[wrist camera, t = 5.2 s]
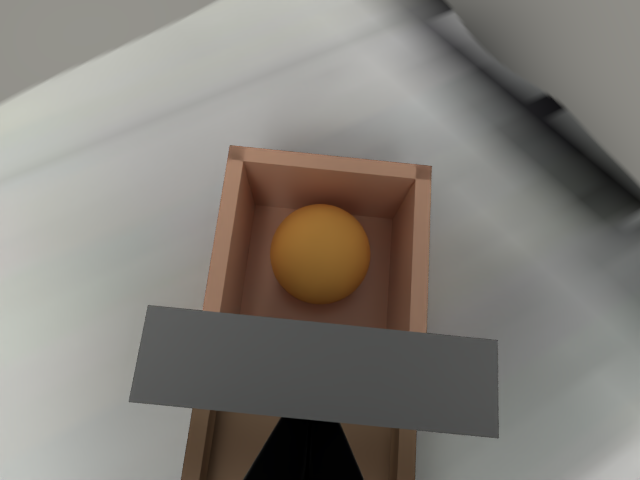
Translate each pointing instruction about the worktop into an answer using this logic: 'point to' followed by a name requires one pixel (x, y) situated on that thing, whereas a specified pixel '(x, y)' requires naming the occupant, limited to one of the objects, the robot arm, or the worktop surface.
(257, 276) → the cup
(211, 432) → the tray
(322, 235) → the ball
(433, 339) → the plunger
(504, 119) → the worktop surface
